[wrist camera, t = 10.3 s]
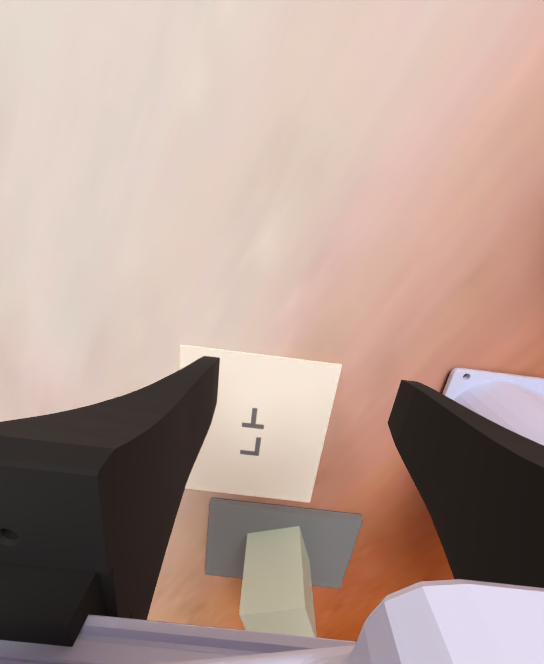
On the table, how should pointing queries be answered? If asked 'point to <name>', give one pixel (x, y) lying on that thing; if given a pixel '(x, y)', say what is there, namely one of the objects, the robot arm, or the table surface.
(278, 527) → the slate mat
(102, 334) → the table surface
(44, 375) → the table surface
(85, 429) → the robot arm
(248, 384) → the card
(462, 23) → the table surface
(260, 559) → the sage block
